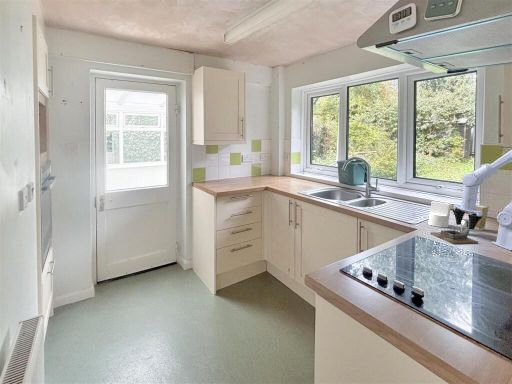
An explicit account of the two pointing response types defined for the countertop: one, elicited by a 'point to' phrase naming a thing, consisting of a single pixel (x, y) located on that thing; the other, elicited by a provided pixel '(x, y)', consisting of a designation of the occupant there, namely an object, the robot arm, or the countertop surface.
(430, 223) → the cylinder with rectangular tab
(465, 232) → the clear glass cylinder
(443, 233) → the dock
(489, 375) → the countertop surface
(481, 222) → the skincare box
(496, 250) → the countertop surface
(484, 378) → the countertop surface
